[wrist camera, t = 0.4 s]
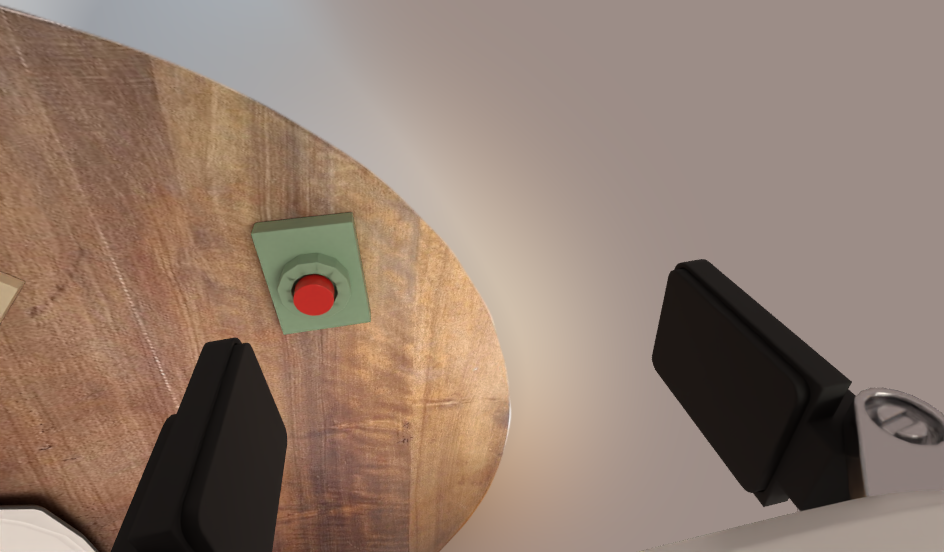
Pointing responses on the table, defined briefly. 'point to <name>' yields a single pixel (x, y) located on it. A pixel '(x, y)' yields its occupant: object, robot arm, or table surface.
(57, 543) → the plate
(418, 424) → the table surface
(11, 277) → the lever bracket
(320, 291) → the button
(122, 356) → the table surface
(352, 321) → the button block
